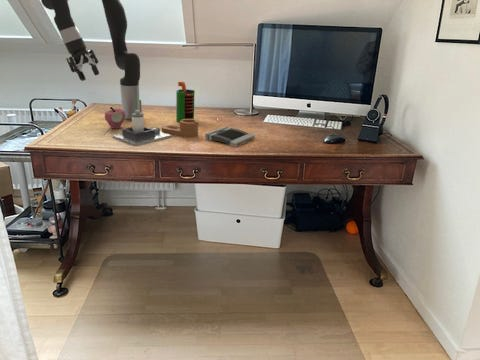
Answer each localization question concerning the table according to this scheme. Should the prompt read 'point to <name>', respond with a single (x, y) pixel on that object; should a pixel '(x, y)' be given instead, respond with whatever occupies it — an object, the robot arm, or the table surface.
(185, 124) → the bracket
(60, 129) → the table surface
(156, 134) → the mount plate
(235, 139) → the grey square tray
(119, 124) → the apple
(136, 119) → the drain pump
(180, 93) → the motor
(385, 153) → the table surface
